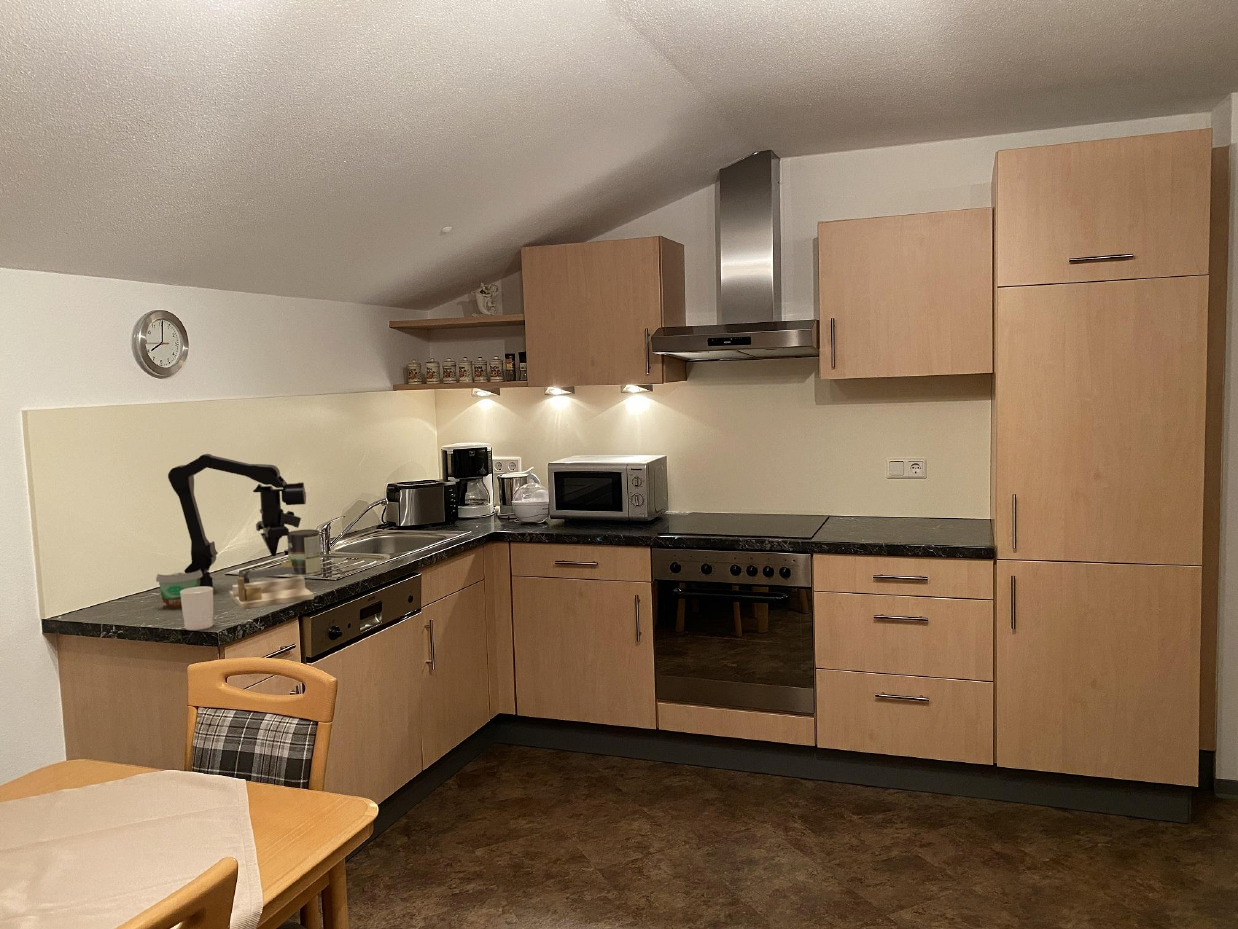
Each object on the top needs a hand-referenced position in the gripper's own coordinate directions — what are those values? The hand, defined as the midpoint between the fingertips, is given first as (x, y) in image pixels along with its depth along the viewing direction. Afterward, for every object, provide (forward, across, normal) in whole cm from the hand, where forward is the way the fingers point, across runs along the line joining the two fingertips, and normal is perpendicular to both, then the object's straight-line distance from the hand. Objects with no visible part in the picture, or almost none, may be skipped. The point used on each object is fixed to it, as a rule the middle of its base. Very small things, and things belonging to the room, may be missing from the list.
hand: (273, 556), depth 294 cm
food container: (+10, -9, +28) cm, 31 cm away
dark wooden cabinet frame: (+5, -7, +4) cm, 9 cm away
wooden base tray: (+10, -13, +4) cm, 17 cm away
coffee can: (+10, +17, -13) cm, 24 cm away
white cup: (+10, -37, +27) cm, 47 cm away
